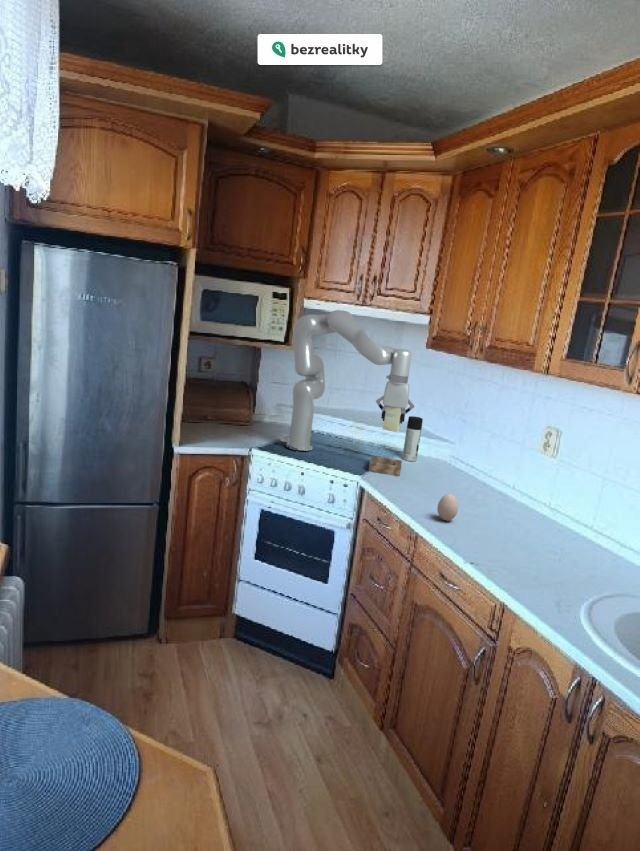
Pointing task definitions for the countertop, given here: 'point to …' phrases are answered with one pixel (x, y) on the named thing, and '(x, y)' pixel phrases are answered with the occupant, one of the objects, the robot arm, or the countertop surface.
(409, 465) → the countertop surface
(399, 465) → the socket block
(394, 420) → the skincare box
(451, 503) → the egg
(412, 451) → the spray can
